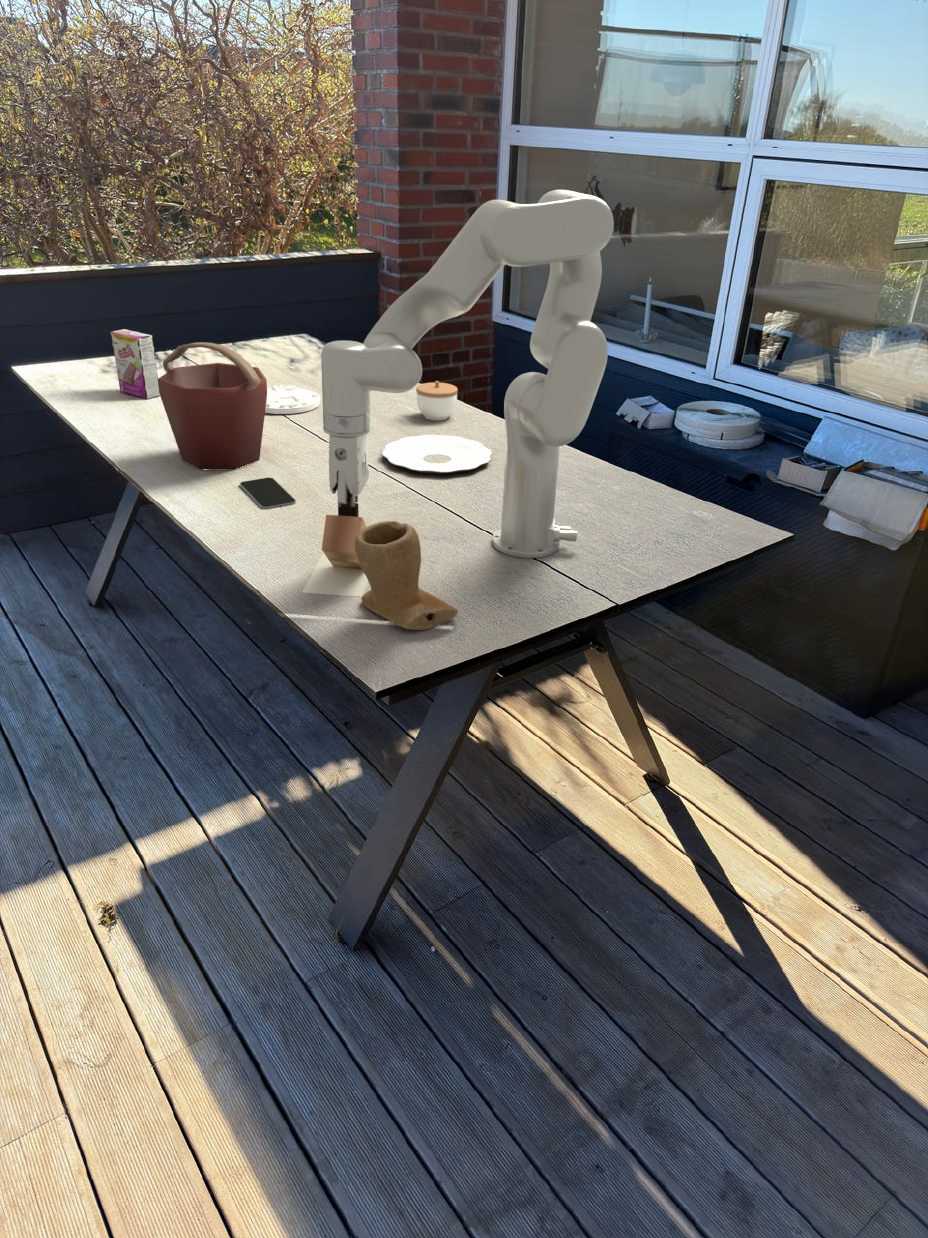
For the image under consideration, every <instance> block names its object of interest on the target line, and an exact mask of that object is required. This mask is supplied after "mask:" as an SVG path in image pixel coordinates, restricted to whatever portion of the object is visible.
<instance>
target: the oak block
mask: <svg viewBox="0 0 928 1238" xmlns="http://www.w3.org/2000/svg"><path fill="white" fill-rule="evenodd" d="M366 527H367V525H366V522H365V521H364V519H363V516H359V517H353V516H338V514H335V515H334V514H325V520H324V528H323V536H322V537H323V538H322V544H321V551H322V552H324V554H325V555H326V557H327V558H328V560H329V561H330V563H331V564H332V566H333V567H341V568H355V569H362V568H361V566H360V563H359V561H358V558H357V555H356V551H355V539H356V536H357V534H358V533H359V532H360V531H361V530H362V529H364V528H366Z"/></svg>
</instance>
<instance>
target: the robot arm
mask: <svg viewBox="0 0 928 1238" xmlns="http://www.w3.org/2000/svg"><path fill="white" fill-rule="evenodd" d="M614 222H615V221H614V216H613V213H612V210H611V208H610V207H609V205H608V204H607V203H606V202H605V201H604V200H603V199H601V198H599V197H597V196H595V195H592V194H586V193H583V192H582V193H581V192H577V191H573V190H568V189H554V190H551V191H548V192H546V193H545V194H543V195H542V196H541V197H540V199H538V201H537V203H525V204H524V203H523V204H521V203H516V202H512V201H510V200H509V201H508V200H505V199H492V200H491V199H490V200H488V201H486V202H485V203H482V205H480V206H479V207H478V208H477V209H476V210H475V211H474V213H473V214H472V215H471V217H470V218H469V219H468V220H467V222H466V223H465V224H464V225H463V227H462V228H461V230H459V232H458V234H457V235H456V236H455V237H454V238H453V240H452V241H451V242H450V243H449V245H448V246H447V248H446V249H445V250H444V252H443V253H442V254H441V255H440V257H439V258H438V259H437V261H436V262H435V263H434V264H433V265H432V267H431V268H430V269H429V271H427V273H426V274H425V275H424V276H423V277H421V278H420V279H419V280H417V281H416V282H415V283H414V284H413V285H412V286H411V287H409V288H408V289H407V290H406V291H404V293H403V294H401V295H400V296H399V297H398V298H397V299H396V300H395V301H394V302H393V303H392V304H391V305H390V306H389V307H388V308H387V309H386V310H385V311H384V313H383V314H382V315H381V317H380V318H379V319H378V321H377V322H376V323H375V324H374V326H373V327H372V328H371V330H370V331H369V333H368V334H367V336H366V338H365V339H364V340H363V343H362V342H359V341H354V340H342V339H341V340H333V341H331V342H327V343H326V344H325V345H324V346H323V347H322V349H321V351H320V352H321V353H320V355H321V356H320V359H321V360H320V362H321V363H320V364H321V387H322V388H321V390H322V391H321V392H322V419H323V420H322V421H323V422H322V425H323V427H322V428H323V432H324V433H326V434H328V435H329V437H328V438H329V442H328V443H329V444H328V477H329V478H328V480H329V482H328V483H329V491H330V492H331V493H332V495H334V494H335V495H336V494H337V515H338V516H353V517H360V516H359V515H360V514H359V513H360V512H359V511H360V510H359V503H358V502H359V495H360V494H361V493H362V491H363V489H364V488H365V486H366V484H367V482H368V480H369V474H370V473H369V452H368V436H367V434H368V433H370V431H371V392H380V393H388V394H402V393H406V392H409V391H410V390H413V389H414V388H415V387H417V386H418V383H420V381H421V379H422V375H423V366H422V361H421V358H420V357H419V356H418V354H417V353H416V351H414V350H413V348H414V347H415V346H416V344H417V343H418V342H419V341H420V340H421V338H423V336H424V335H425V334H426V333H428V332H429V331H430V330H431V329H432V328H434V327H435V326H437V325H438V324H439V323H441V322H444V321H446V320H447V321H448V320H449V319H452V318H456V317H458V316H459V317H460V316H461V315H464V314H466V313H467V312H468V311H470V310H471V309H472V307H474V305H475V304H476V302H478V300H479V299H480V297H481V296H482V295H483V293H484V292H485V291H486V290H487V288H488V287H489V286H490V285H491V284H492V282H493V281H494V279H495V278H496V277H497V275H498V274H499V273H500V272H501V271H502V269H503V268H504V267H505V266H506V265H507V266H509V267H514V268H515V267H516V268H517V267H533V266H534V267H535V266H541V265H549V276H548V281H547V284H546V287H545V288H546V289H545V292H544V295H543V298H542V301H541V305H540V306H539V307H540V308H539V311H538V315H537V317H536V319H535V324H534V326H533V329H532V332H531V335H530V342H529V349H530V353H531V355H532V356H533V358H534V359H535V360H536V361H537V362H538V363H539V364H540V365H542V366H544V367H545V368H546V369H548V370H547V374H544V373H541V372H537V371H536V372H535V371H530V372H526V373H522V374H520V375H519V376H517V377H516V378H514V379H513V381H512V382H511V383H510V384H509V386H508V388H507V389H506V392H505V396H504V402H503V403H504V405H503V407H504V408H503V409H504V410H503V414H504V421H505V422H504V424H505V425H504V426H505V459H504V461H505V462H504V471H503V472H504V476H503V491H502V509H501V510H502V511H501V526H500V529H498V530H496V531H495V532H493V534H492V538H491V543H492V545H493V547H494V548H495V549H496V550H498V551H499V552H501V553H503V554H506V555H509V556H511V557H518V558H525V559H527V558H528V559H530V558H531V559H535V558H542V557H543V556H544V557H546V556H550V555H553V554H554V553H556V552H557V551H558V550H559V548H560V545H561V544H560V541H566V542H577V539H578V531H576V530H571V526H559V524H556V518H555V514H554V513H555V505H556V496H557V495H556V494H557V484H558V472H559V471H558V470H559V465H560V462H559V461H560V447H563V446H566V445H568V444H570V443H571V442H573V441H574V440H575V439H576V438H577V437H578V436H579V435H580V433H581V432H582V430H583V429H584V428H585V425H586V422H587V420H588V418H589V415H590V414H591V413H590V412H591V409H592V407H593V404H594V401H595V399H596V396H597V393H598V391H599V387H600V385H601V382H602V379H603V377H604V373H605V370H606V366H607V362H608V355H609V349H608V346H609V345H608V342H607V338H606V336H605V334H604V332H603V331H602V330H601V328H600V327H599V326H597V325H596V324H595V323H593V322H591V321H592V316H593V313H594V309H595V306H596V303H597V299H598V295H599V292H600V288H601V284H602V274H603V268H602V267H603V266H602V257H601V251H602V250H603V249H604V248H605V247H607V244H608V243H609V242H610V240H611V238H612V235H613V232H614V225H615V223H614ZM557 549H558V550H557ZM556 550H557V551H556ZM555 551H556V552H555ZM552 553H553V554H552Z"/></svg>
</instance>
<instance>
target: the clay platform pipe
mask: <svg viewBox="0 0 928 1238" xmlns="http://www.w3.org/2000/svg"><path fill="white" fill-rule="evenodd" d="M355 551H356V555H357V558H358V561H359V563H360V566H361V568H362V570H363V572H364V573H365V575H366V577H367V579H368V584H369V586H370V590H368V591H366V592H364V593H363V596H362V597H361V602H362V604H363V605H364V606H365V607H366V608H368V610H370V611H371V612H372V613H374V614H376V615H378V616H380V617H382V618H384V619H385V620H388V621H389V622H391V623H393V624H395V625H397V626H399V627H401V628H403V629H404V630H415V631H424V630H425V631H426V630H430V629H432V628H435V627H438V626H441V625H443V624H445V623H446V622H449V621H450V620H451V619H453V618H455V617H456V616H457V615H458V613H459V611H458V609H457V608H456V607H454V606H452V605H450V604H449V603H447V602H446V601H444V600H442V599H440V598H438V597H437V596H434V595H432V594H431V593H428V592H426V591H425V590H423V589H421V588H420V586H419V579H420V572H421V571H420V569H421V565H422V549H421V542H420V538H419V535H418V532H417V530H416V529H415V528H414V527H413V526H412V525H410V524H409V523H403V522H398V521H394V520H385V521H380V522H375V523H373V524H371V525H368V526H366V528H364V529H362V530H361V531H360V532H359V533H358V534H357V536H356V539H355Z"/></svg>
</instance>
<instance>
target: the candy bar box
mask: <svg viewBox="0 0 928 1238" xmlns="http://www.w3.org/2000/svg"><path fill="white" fill-rule="evenodd" d="M110 337H111V343H112V349H113V355H114V361H115V366H116V367H115V368H116V372H117V379H118V384H119V385H118V386H119V392H120V393H123V394H125V395H130V396H133V397H137V398H141V399H145V400H151V399H154V398H155V399H156V398H158V397H160V394H159V387H158V380H157V379H159V376H158V369H157V362H156V356H155V347H154V341H153V340H154V339H153V335H151V334H147V333H143V332H139V331H134V330H131V329H125V328H123V329H118V330H113V331H110Z"/></svg>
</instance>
